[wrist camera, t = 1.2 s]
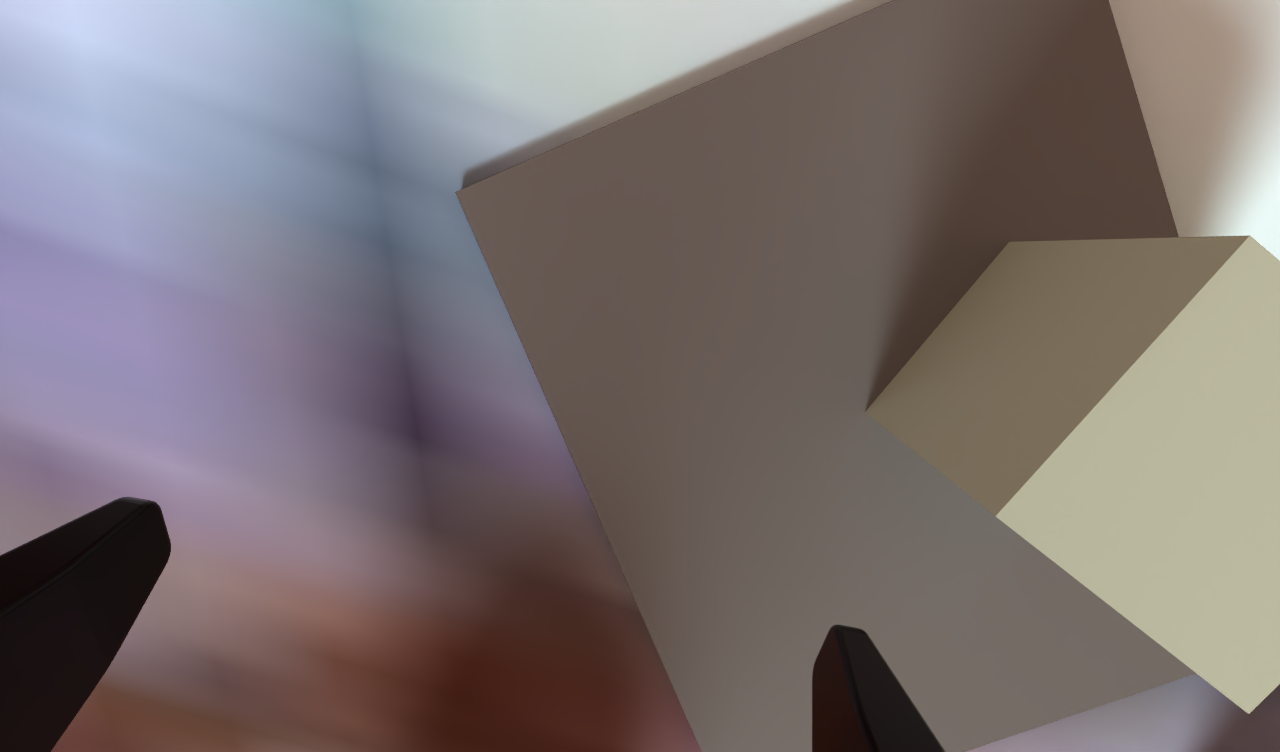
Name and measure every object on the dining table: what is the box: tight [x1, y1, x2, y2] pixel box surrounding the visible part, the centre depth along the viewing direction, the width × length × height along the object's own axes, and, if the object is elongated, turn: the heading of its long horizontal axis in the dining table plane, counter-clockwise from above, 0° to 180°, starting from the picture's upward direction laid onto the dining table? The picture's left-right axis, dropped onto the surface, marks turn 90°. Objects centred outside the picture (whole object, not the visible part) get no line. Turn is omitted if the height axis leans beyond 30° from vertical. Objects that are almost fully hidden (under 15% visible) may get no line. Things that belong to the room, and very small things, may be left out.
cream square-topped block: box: [865, 236, 1280, 714], centre depth 19 cm, size 7×7×10 cm
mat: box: [455, 0, 1195, 752], centre depth 24 cm, size 24×20×1 cm
